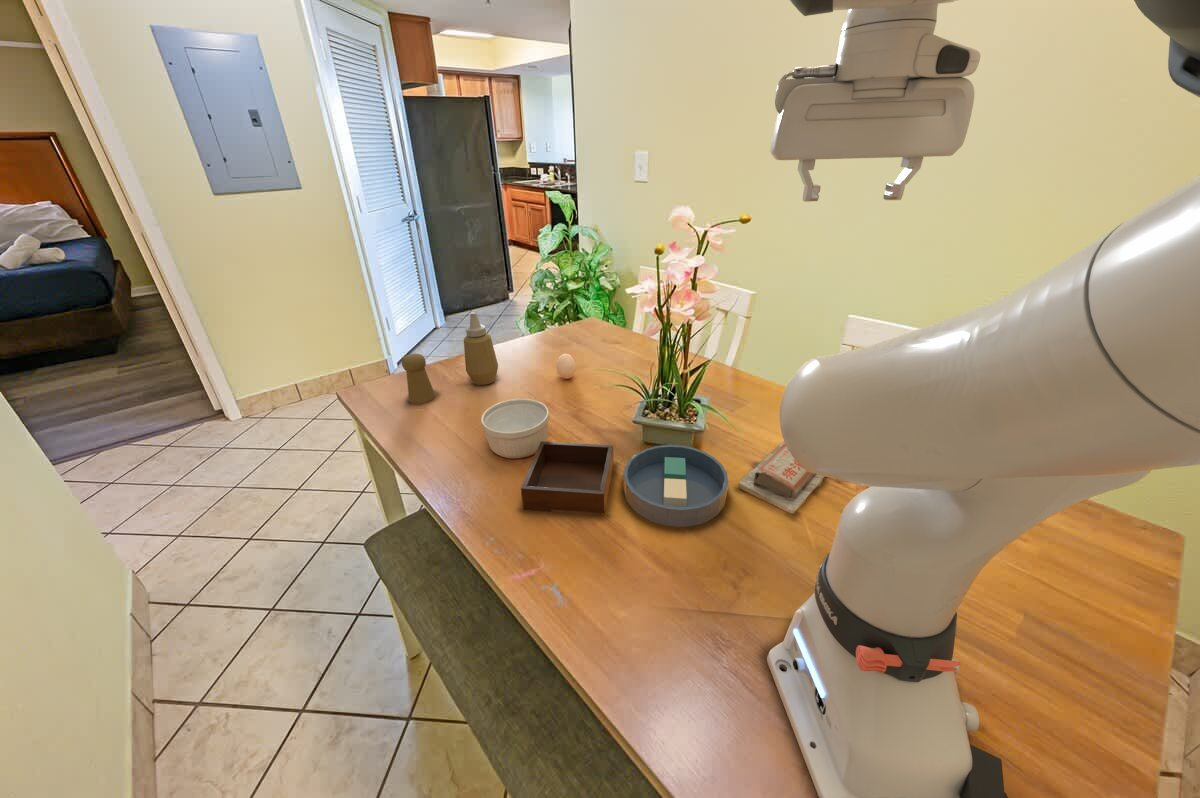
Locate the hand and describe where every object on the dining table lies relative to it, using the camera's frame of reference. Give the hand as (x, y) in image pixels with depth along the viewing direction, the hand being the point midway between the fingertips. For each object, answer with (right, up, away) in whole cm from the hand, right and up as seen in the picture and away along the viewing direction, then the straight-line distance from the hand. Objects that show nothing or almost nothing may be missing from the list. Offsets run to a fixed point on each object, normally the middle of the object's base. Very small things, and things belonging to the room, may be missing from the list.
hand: (850, 200), depth 58 cm
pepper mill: (-73, -24, +56) cm, 96 cm away
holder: (-36, -40, +26) cm, 59 cm away
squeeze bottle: (-60, -20, +64) cm, 90 cm away
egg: (-39, -19, +63) cm, 77 cm away
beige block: (-18, -41, +21) cm, 50 cm away
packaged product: (+3, -38, +26) cm, 47 cm away
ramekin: (-47, -34, +38) cm, 69 cm away
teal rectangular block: (-17, -38, +26) cm, 50 cm away
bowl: (-18, -40, +24) cm, 50 cm away
